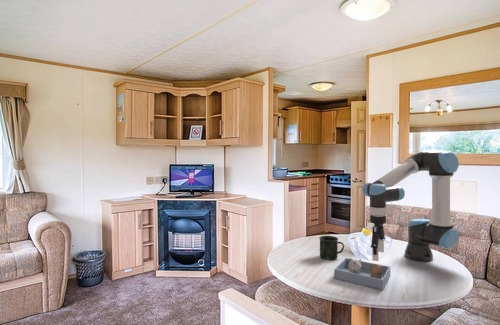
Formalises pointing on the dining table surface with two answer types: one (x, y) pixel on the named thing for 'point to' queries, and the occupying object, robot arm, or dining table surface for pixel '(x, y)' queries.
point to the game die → (355, 266)
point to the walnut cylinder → (375, 271)
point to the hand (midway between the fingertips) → (378, 256)
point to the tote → (362, 275)
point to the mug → (329, 247)
